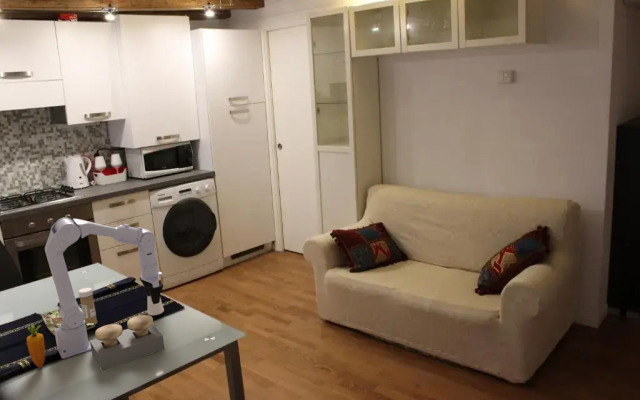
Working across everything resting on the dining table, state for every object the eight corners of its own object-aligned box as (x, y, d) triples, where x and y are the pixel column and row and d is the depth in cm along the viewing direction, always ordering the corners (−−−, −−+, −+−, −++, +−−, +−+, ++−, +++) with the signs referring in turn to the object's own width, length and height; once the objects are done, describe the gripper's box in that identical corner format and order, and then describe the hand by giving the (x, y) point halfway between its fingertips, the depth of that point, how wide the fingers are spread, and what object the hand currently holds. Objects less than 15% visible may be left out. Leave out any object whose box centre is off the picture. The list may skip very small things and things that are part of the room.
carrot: (35, 364, 177) (27, 321, 173) (51, 363, 177) (43, 320, 173) (29, 373, 172) (20, 329, 168) (45, 371, 172) (37, 327, 168)
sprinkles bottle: (98, 324, 201) (93, 290, 198) (85, 328, 199) (79, 293, 195) (95, 319, 205) (90, 286, 202) (82, 323, 203) (77, 289, 199)
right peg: (133, 346, 178) (131, 329, 176) (126, 336, 184) (124, 319, 183) (158, 338, 182) (156, 321, 181) (150, 328, 189) (148, 312, 187)
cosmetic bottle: (143, 314, 208) (136, 259, 202) (154, 307, 213) (147, 253, 207) (157, 316, 205) (149, 260, 200) (167, 309, 211) (160, 254, 205)
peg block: (101, 370, 171) (99, 356, 170) (92, 354, 181) (89, 340, 180) (164, 349, 182) (162, 335, 181) (152, 335, 192) (150, 321, 190)
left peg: (101, 356, 173) (98, 339, 171) (95, 346, 179) (92, 329, 177) (127, 348, 177) (125, 331, 175) (120, 338, 183) (117, 321, 182)
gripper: (166, 267, 188) (170, 303, 192) (154, 254, 201) (159, 289, 204) (145, 271, 185) (149, 309, 189) (134, 259, 197) (139, 294, 201)
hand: (153, 299), depth 196 cm, fingers open, 7 cm apart
